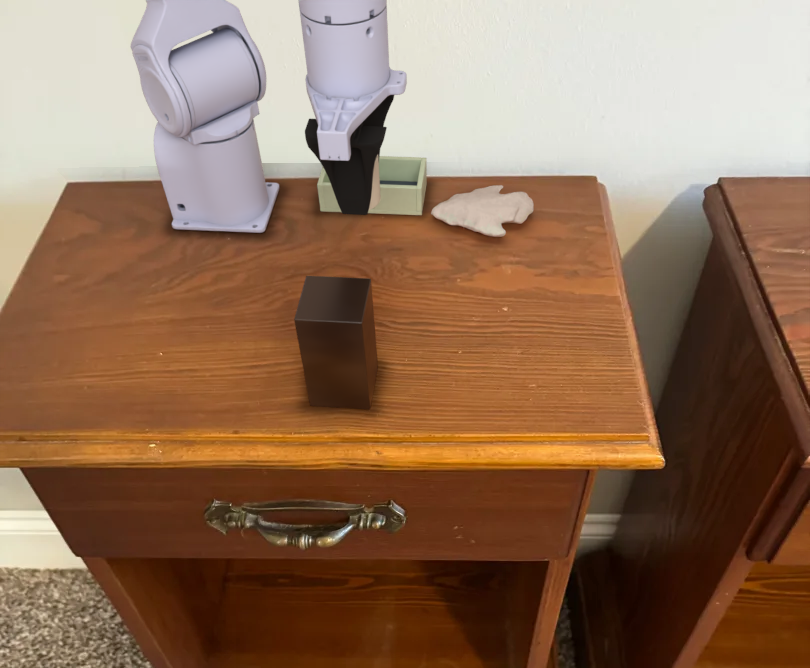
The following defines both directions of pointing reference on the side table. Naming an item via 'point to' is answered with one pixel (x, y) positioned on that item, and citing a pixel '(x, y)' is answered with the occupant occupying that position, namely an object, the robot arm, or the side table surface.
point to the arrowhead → (485, 210)
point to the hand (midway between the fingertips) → (358, 197)
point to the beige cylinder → (375, 186)
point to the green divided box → (388, 187)
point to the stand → (337, 341)
